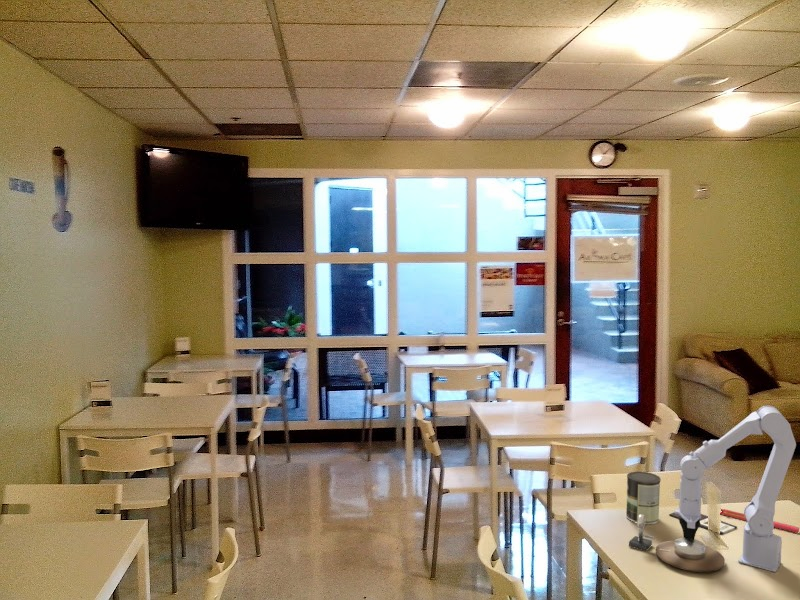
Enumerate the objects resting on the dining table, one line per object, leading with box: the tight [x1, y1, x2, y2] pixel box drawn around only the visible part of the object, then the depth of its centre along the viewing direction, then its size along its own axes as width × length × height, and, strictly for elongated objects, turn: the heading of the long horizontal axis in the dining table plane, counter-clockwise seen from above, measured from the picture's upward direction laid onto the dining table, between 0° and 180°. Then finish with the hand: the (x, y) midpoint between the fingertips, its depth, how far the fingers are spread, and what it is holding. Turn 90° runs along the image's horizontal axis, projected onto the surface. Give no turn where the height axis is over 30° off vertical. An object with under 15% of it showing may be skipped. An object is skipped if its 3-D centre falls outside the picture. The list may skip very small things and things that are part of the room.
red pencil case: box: [720, 508, 800, 534], centre depth 219 cm, size 24×2×5 cm
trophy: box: [628, 514, 655, 552], centre depth 200 cm, size 6×5×10 cm
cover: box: [674, 537, 706, 560], centre depth 192 cm, size 8×8×3 cm
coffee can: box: [625, 471, 662, 525], centre depth 221 cm, size 10×10×14 cm
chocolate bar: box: [669, 511, 738, 536], centre depth 219 cm, size 9×1×18 cm
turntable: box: [655, 539, 726, 573], centre depth 192 cm, size 18×18×1 cm
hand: (688, 543), depth 197 cm, fingers closed
